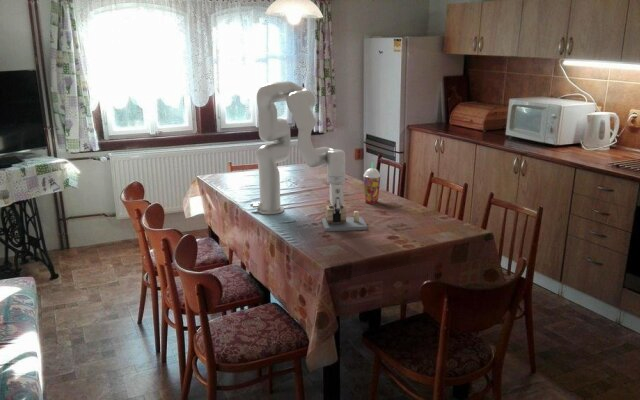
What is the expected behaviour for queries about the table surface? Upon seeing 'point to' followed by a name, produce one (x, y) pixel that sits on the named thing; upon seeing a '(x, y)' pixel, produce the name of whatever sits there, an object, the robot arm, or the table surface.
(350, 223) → the pin board
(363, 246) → the table surface
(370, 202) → the smoothie
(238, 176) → the table surface
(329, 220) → the sleeve
